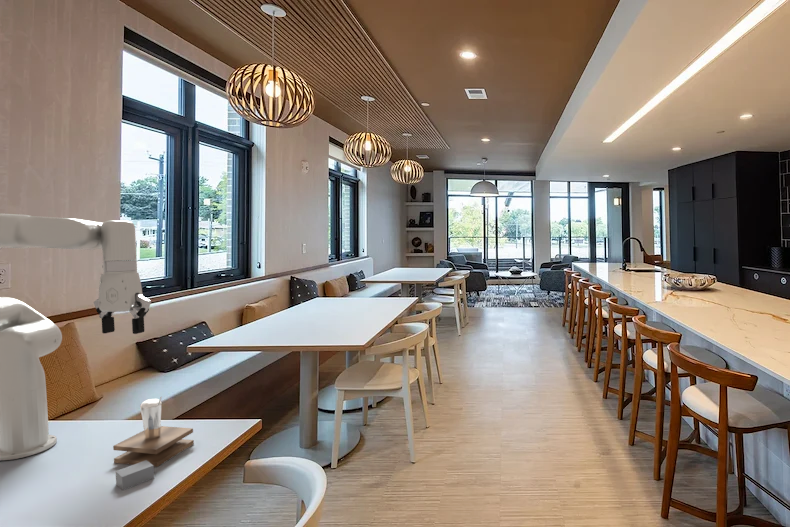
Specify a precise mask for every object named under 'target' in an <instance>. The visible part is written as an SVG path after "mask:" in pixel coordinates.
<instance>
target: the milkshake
mask: <svg viewBox="0 0 790 527" xmlns="http://www.w3.org/2000/svg"><path fill="white" fill-rule="evenodd" d="M162 398H163V396H160V398H148V399H146V400H144V401H142V403H141V404H140V405H139V407H140V413H141V418H142V425H143V426H142V427H143V431H144V434H145V439H149V440H150V439H155V438H158V437H159V436H160V432H161V426H162V425H161V424H162V403H163V402H162Z"/></svg>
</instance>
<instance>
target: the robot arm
mask: <svg viewBox="0 0 790 527" xmlns="http://www.w3.org/2000/svg"><path fill="white" fill-rule="evenodd" d="M135 226H136V225H135V223H133V221H129V220H119V219H118V220H116V219H115V220H105V221H103V222H101V221H93V220H87V219H81V218H69V217H55V216H54V217H52V216H36V215H33V216H32V215H28V214H19V213H18V214H17V213H14V214H13V213H0V250H1V249H3V248H7V249H8V248H10V249H29V248H41V249H42V248H44V249H45V248H46V249H60V250H61V249H62V250H63V249H64V250H65V249H66V250H84V251H85V250H90V251H91V250H92V251H93V250H101V252H102V253H101V254H102V273H101V274H100V278H99V286H98V298H97V299H95V300H94V301H93V305H94V307H95V309H96V312H97V314H98V315H99V319H101V333H102V334H109V333H113V332H115V330H116V329H115V317H114V316H113V315H114V313H116V312H117V313H124V312H125V313H126V312H130V314H131V315H132V317H133V318H131V326H132V328H131V329H132V334H134V335H138V334H141V333H144V332H145V318H146V317H147V313H148V312H149V311H150V306H151V304H152V301H151V300H150V299H149V298H147V297H145V296H144V295H143V287H142V282H141V278H140V274H139V272H138V263H137V262H138V260H137V240H136V227H135ZM62 341H63V333H62V330H61V329H60V327H58V325H57V324H56V323H54V322H53V321H52V320H50V319H49V318H47V317H46V316H44V314H42V313H40V312H39V311H37V310H35V309H34V308H33V307H31V306H30V305H28V304H27V303H25V302H24V301H22V300H19V299H17V298H15V297H9V296H0V461H11V460H18V459H21V458H25V457H30V456H33V455H36V454H39V453H42V452H45V451H46V450H48V449H50V448H52V447H53V446H55V445H56V443H57V442H58V441H57V440H58V439H57V436H56V435H53V434H49V433H50V432H49V416H48V413H49V412H48V400H47V399H48V397H47V396H48V395H47V383H46V380H47V379H46V374H45V373H46V372H45V369H44V367H43V364H42V363H41V361H40V360H41V359H40V358H41V357H44V356H48V355H49V354H52V353H53V352H54V351H56V350H57V349H59V347H60V346H61V344H62Z"/></svg>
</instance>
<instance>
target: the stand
mask: <svg viewBox="0 0 790 527" xmlns="http://www.w3.org/2000/svg"><path fill="white" fill-rule="evenodd" d="M193 433H194V428H193V427H192V428H191V427H180V426H179V427H177V426H165V425H163V426H162V425H161V432H160V436H159V437H158V438H155V439H150V440H149V439H145V434H144V430H142V431H140V432H138V433H136V434H134V435H132V436H130V437H128V438H126V439H124V440H122V441H120V442H118V443H116V444H114V445H112V446H113V447H112V448H113V451H117V452H118V451H119V452H120V451H121V452H123V453H122V454H119V455H118V456H116V457H114V458H113V463H114V464H123V465H130V466H131V465H134V464H137V463H140V462H143V461H145V460H147V461H148V462H150V463H151V464H152V465H154V468H158V467H160V466H161V465H162V464H165V463H166V462H167V461H169V460H171V459H173V458H174V457H176V456H177V455H179V454H180V453H182V452H183V451H185V450H186V449H188V448H190V447H191V446H193V445H194V444H195V442H194V440H193V439H186V437H188V436H189V435H191V434H193Z"/></svg>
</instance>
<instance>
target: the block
mask: <svg viewBox="0 0 790 527" xmlns="http://www.w3.org/2000/svg"><path fill="white" fill-rule="evenodd" d="M154 468H155V467H154V465H152V464H151V463H150V462H148V461H147V460H145V461H143V462H140V463H137V464H134V465H131V464H130V465H129V466H126V467H123V468H121V469H117V470H115V483H116V484H115V485H116V486H117V487H118V488H120V489H121V491H124V490H127V489H130V488H133V487H135V486H139V485H140V484H143V483H145V482H148V481H150V480H153V479H155V472H154Z"/></svg>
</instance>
